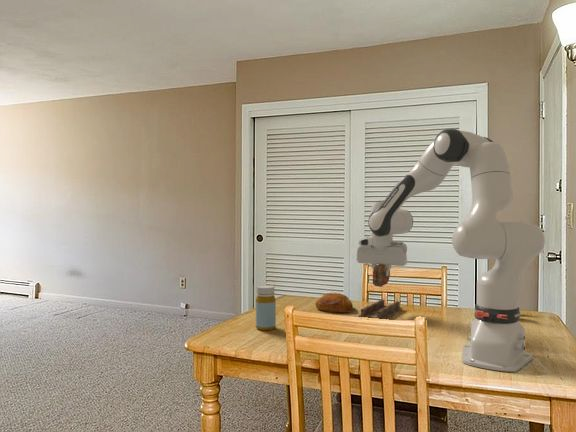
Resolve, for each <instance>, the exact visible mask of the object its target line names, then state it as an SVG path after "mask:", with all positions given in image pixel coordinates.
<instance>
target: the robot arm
mask: <svg viewBox="0 0 576 432" xmlns="http://www.w3.org/2000/svg"><path fill="white" fill-rule="evenodd" d="M454 165H457V166H460V167H464V168H469V172H470V173H469V175H470V183H471V184H470V185H471V186H470V187H471V207H470V210H469V213H468V215H467V216H466V218H465V219H464V220H462V222H461V223H459V224H458V225H457V226H456V227H455V229H454V231H453V233H452V237H451V242H452V247H453V249H454V251H455V252H456V253H457V254H458V256H460V257H464V258H469V259H475V260H492V259H493V260H495V262H494V265H493V266H492V268H490V269H489V270H486V271H485V272H483V273H482V274H481V275H479V277H478V278H477V281H476V304H475V306H474V319H472V320H471V321H470V336H468V337H467V341H468V342H470V343H465V344H463V345H462V354H461V355H462V356H461V357H462V358H461V359H462V363H463V364H465V365H469V366H472V367H476V368H481V369H487V370H492V371H497V372H498V371H500V372H510V373H511V372H514V373H515V372H518V371H519V370H521V369H522V368H523V367H524V366H525V365H527V364H528V363H529V362H530V361H532V360H533V359H534V357H533V354H531V353H529V352H527V351H526V349H527V348H526V329H525V327H524V326H523V325H522V324H521V322H520V318H521V317H520V316H521V315H520V314H521V312H520V307H519V287H520V281H521V278H522V274H523V273H524V271H525V268H527V266H528V265H529V263H530V262H531V261H533V259H535V258H536V257H538V256H539V255H540V254H541V252H542V251H543V249H544V247H545V244H546V240H545V235H544V233H543V230H542V229H541V227H539V226H538V225H537V224H534V223H530V222H525V221H497V213H499V212H501V211H502V210H504V209H505V208H508V206H510V204H511V203H512V201H513V197H514V194H513V193H514V192H513V187H512V186H513V185H512V177H511V171H510V166H509V162H508V158H507V155H506V151H505V150H504V147H503V146H502V145H501V144H500V143H497V142H495V141H493V140H492V139H490V138H488V137H486V136H482V135H478V134H476V133H473V132H472V131H465V130H459V129H456V128H447V129H446V128H445V129H442V130H441V131H440V132H439V133H438V134H437V135H436V137H435V139H434V140H433V141H432V142H431V143H430V144H428V147H426V149H424V152H423V153H422V154H421V156H420V157H419V159H418V161H417V162H416V164H414V165H413V167H412V168H411V169H410V170H409V171H408V172H407V174H406V175H404V176H403V177H402V178H401V179H400V180H399V181H398V182H397V183H396V185H394V187H393V188H392V190H390V192H389V193H388V195H387V196H386V197H385V199H384V200H377V201H374V202H373V203H372V204H371V208H370V215H369V217H368V227H369V230H370V232H369V233H370V234H369V237H365V238H362V239H359V240H358V245H359V246H358V247H357V248H356V249H357V251H356V261H357V263H359V264H366V265H367V264H368V265H369V264H370V265H371V268H372V270H373V269H374V267H375V266H376V265H379V264H381V265H386V268H387V270H386V271H385V272H384V276H388V275H389V271H390V272H391V269H392V266H396V267H397V266H398V267H405V266H406V265H407V264H408V258H407V257H408V256H407V253H408V246H407V244H406V243H404V242H403V241H399V242H398V241H394V239H393V238H394V237H393V236H395V235H402V234H403V235H404V234H408V233H409V232H410V231H411V230H412V228H413V226H414V217H413V215H412V213H411V212H410V211H409V210H407V209H403V208H402V207H403V205H404V204H405V202H406V201H408V200H409V199H410V198H412V197H414V196H416V195H419V194H422V193H425V192H430V191H433V190H434V189H437V188H438V187H439V186H440V185H441V184H442V183H443V182H444V180H445V179H446V177H447V175H448V174H449V173H450V171H451V169H452V168H453V166H454Z"/></svg>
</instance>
